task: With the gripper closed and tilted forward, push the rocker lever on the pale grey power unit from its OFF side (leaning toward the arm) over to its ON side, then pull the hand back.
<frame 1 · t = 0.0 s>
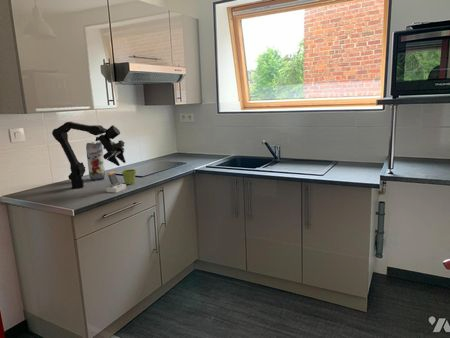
hand: (122, 164, 215), 15 cm above the counter, tool tilted 35°, fingers open, 9 cm apart
rocker lever: (113, 178, 211), point 7 cm above the counter, hinge at -20.0°
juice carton: (97, 179, 244), on the counter
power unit: (115, 189, 212), on the counter
plant pot: (129, 183, 228), on the counter
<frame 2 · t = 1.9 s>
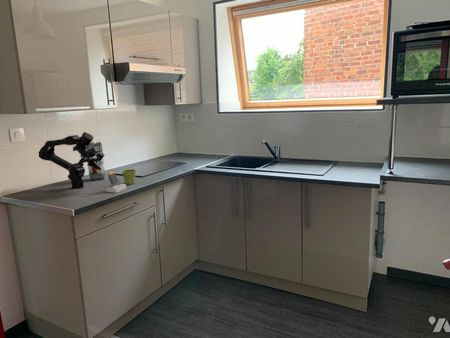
hand: (100, 169, 213), 13 cm above the counter, tool tilted 45°, fingers closed
nothing on the counter moved.
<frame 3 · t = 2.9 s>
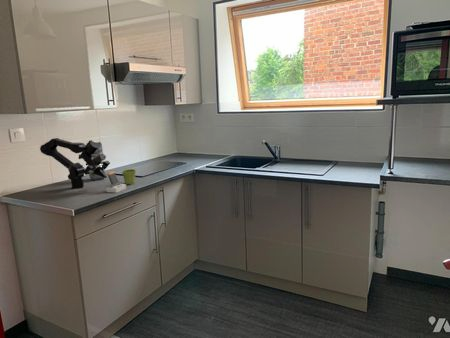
hand: (106, 177, 213), 8 cm above the counter, tool tilted 45°, fingers closed
nothing on the counter moved.
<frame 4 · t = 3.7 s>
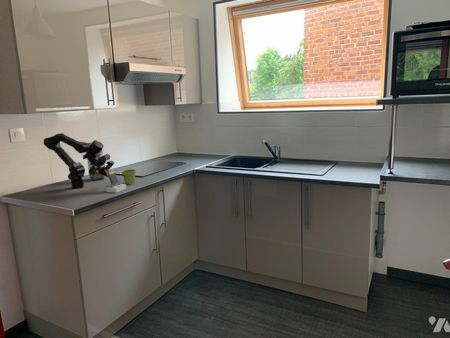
hand: (110, 177, 212), 8 cm above the counter, tool tilted 45°, fingers closed, pressing on rocker lever
rocker lever: (113, 178, 211), point 7 cm above the counter, hinge at -20.0°, touching gripper
everything else where it was.
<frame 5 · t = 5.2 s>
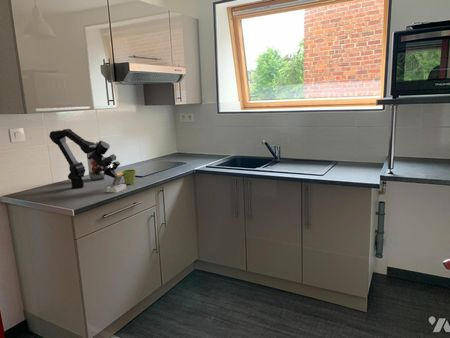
hand: (116, 178, 210), 8 cm above the counter, tool tilted 45°, fingers closed, pressing on rocker lever
rocker lever: (117, 179, 210), point 7 cm above the counter, hinge at 29.0°, touching gripper
everything else where it was.
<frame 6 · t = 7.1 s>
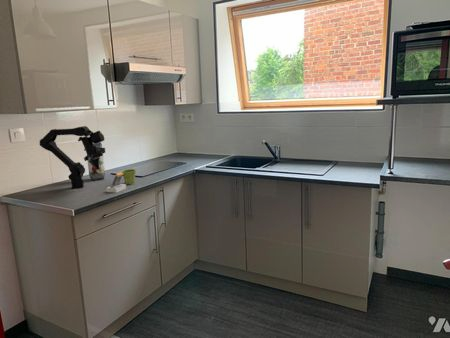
hand: (98, 169, 218), 12 cm above the counter, tool tilted 15°, fingers closed
rocker lever: (117, 179, 210), point 7 cm above the counter, hinge at 29.2°
everything else where it was.
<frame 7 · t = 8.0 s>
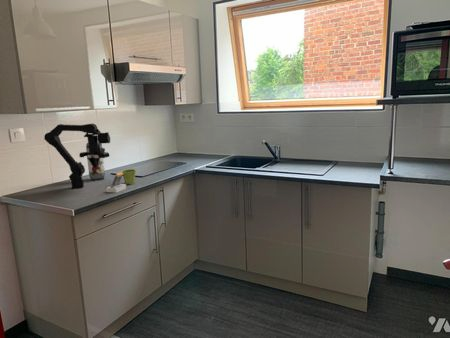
hand: (95, 168, 220), 12 cm above the counter, tool pointing down, fingers closed
nothing on the counter moved.
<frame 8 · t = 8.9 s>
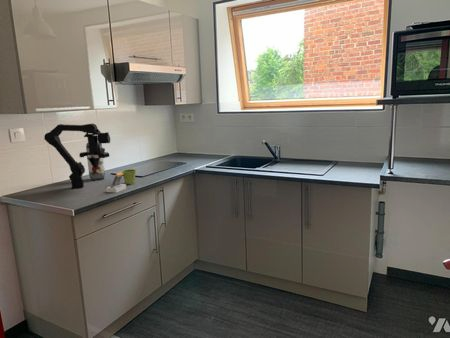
hand: (95, 168, 220), 12 cm above the counter, tool pointing down, fingers closed
nothing on the counter moved.
at the end: rocker lever at +29° (first picture: -20°); plant pot moved 0.2 cm from its start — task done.
